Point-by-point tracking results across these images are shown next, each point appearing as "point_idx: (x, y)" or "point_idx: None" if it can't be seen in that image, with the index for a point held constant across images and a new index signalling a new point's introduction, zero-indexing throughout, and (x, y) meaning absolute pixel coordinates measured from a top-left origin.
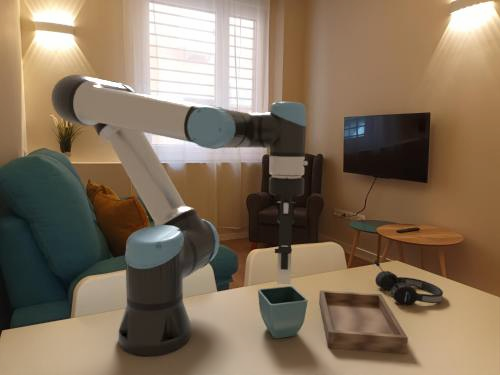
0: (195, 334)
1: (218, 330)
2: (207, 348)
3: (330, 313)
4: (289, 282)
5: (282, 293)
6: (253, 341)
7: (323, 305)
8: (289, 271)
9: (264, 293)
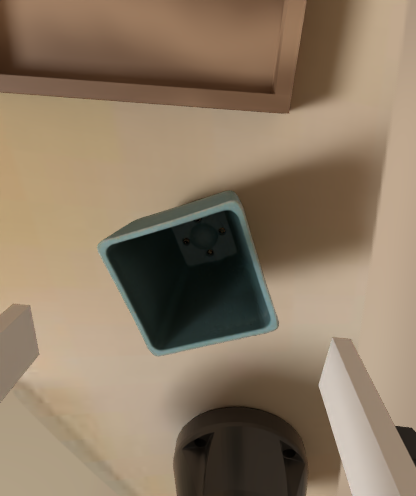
0: (226, 398)
1: (207, 363)
2: (279, 377)
3: (83, 65)
4: (352, 349)
5: (127, 268)
6: None
7: (88, 96)
8: (375, 398)
9: (153, 328)
